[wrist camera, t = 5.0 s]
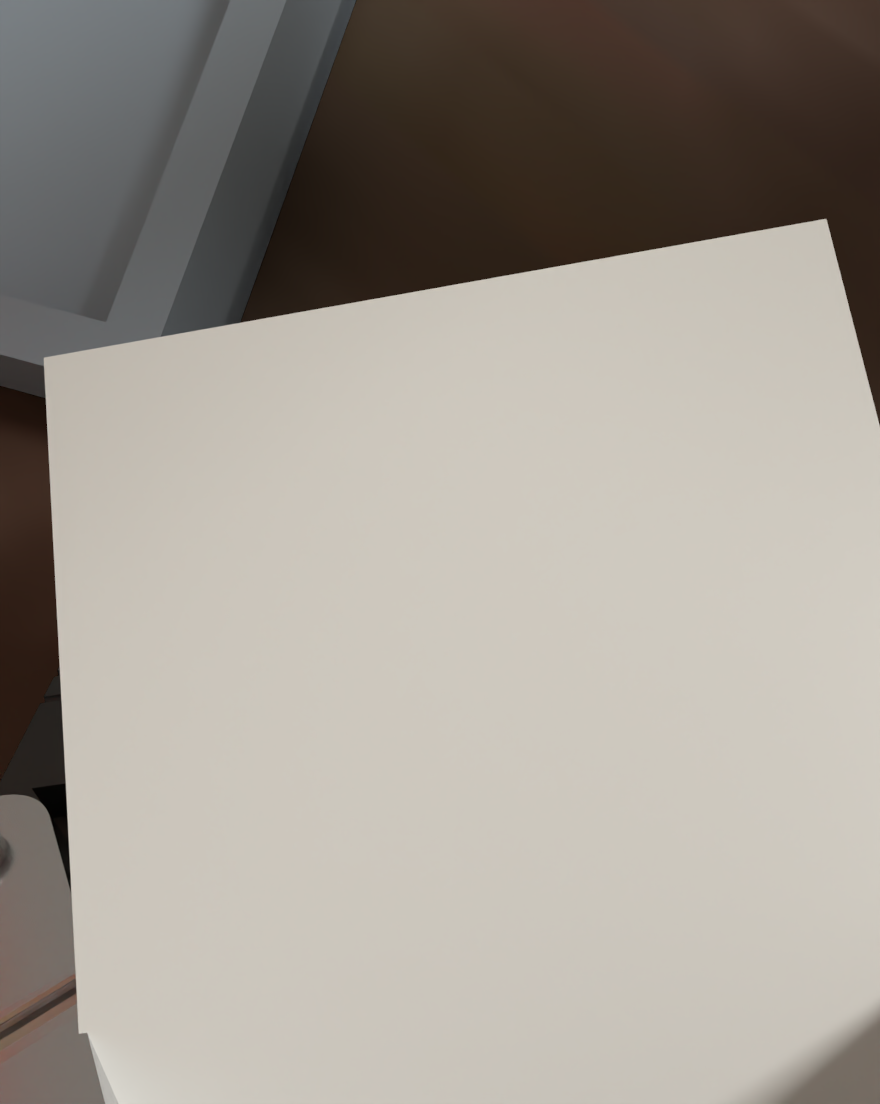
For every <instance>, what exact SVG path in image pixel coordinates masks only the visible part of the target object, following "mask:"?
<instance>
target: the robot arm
mask: <svg viewBox="0 0 880 1104" xmlns="http://www.w3.org/2000/svg"><path fill="white" fill-rule="evenodd" d="M57 671H58V676H56V677H54V678H53V680H52V682H51V684H50V686H49V688H48V689H47V691H46V693H45V695H44V699H45V702H44V703H40V705H39V707H38V709H37V711H36V713H35V715H34V717H33V719H32V721H31V722H30V724H29V726H28V728H27V730H26V732H25V734H24V736H23V738H22V740H21V742H20V744H19V746H18V748H17V750H16V752H15V754H14V756H13V757H12V759H11V761H10V763H9V765H8V767H7V769H6V771H5V773H4V775H3V777H2V779H1V781H0V1104H118V1101H117V1099H116V1097H115V1094H114V1092H113V1090H112V1088H111V1085H110V1083H109V1081H108V1079H107V1076H106V1074H105V1072H104V1070H103V1067H102V1065H101V1063H100V1061H99V1058H98V1056H97V1054H96V1051H95V1049H94V1047H93V1045H92V1042H91V1040H90V1038H89V1036H88V1033H81V1034H79V1029H78V1010H77V990H76V971H75V952H74V933H73V913H72V894H71V875H70V856H69V836H68V817H67V798H66V779H65V759H64V740H63V721H62V702H61V682H60V666H59V668H58V670H57Z"/></svg>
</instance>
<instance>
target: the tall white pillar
mask: <svg viewBox="0 0 880 1104" xmlns="http://www.w3.org/2000/svg"><path fill="white" fill-rule="evenodd" d="M44 375H45V394H46V413H47V432H48V452H49V471H50V490H51V509H52V529H53V548H54V567H55V586H56V606H57V625H58V644H59V663H60V682H61V702H62V721H63V740H64V759H65V779H66V798H67V817H68V836H69V856H70V875H71V894H72V913H73V933H74V952H75V971H76V990H77V1010H78V1029H79V1034H81V1033H88V1036H89V1038H90V1040H91V1042H92V1045H93V1047H94V1049H95V1051H96V1054H97V1056H98V1058H99V1061H100V1063H101V1065H102V1067H103V1070H104V1072H105V1074H106V1076H107V1079H108V1081H109V1083H110V1085H111V1088H112V1090H113V1092H114V1094H115V1097H116V1099H117V1101H118V1104H880V425H879V421H878V417H877V414H876V410H875V406H874V402H873V398H872V394H871V390H870V386H869V383H868V379H867V375H866V371H865V367H864V363H863V359H862V355H861V351H860V348H859V344H858V340H857V336H856V332H855V328H854V324H853V320H852V316H851V313H850V309H849V305H848V301H847V297H846V293H845V289H844V285H843V282H842V278H841V274H840V270H839V266H838V262H837V258H836V254H835V250H834V247H833V243H832V239H831V235H830V231H829V227H828V223H827V219H822V220H817V221H811V222H805V223H800V224H794V225H788V226H783V227H777V228H771V229H766V230H760V231H755V232H749V233H743V234H738V235H732V236H726V237H721V238H715V239H709V240H704V241H698V242H693V243H687V244H681V245H676V246H670V247H664V248H659V249H653V250H648V251H642V252H636V253H631V254H625V255H619V256H614V257H608V258H602V259H597V260H591V261H586V262H580V263H574V264H569V265H563V266H557V267H552V268H546V269H540V270H535V271H529V272H524V273H518V274H512V275H507V276H501V277H495V278H490V279H484V280H479V281H473V282H467V283H462V284H456V285H450V286H445V287H439V288H433V289H428V290H422V291H417V292H411V293H405V294H400V295H394V296H388V297H383V298H377V299H371V300H366V301H360V302H355V303H349V304H343V305H338V306H332V307H326V308H321V309H315V310H309V311H304V312H298V313H293V314H287V315H281V316H276V317H270V318H264V319H259V320H253V321H248V322H242V323H236V324H231V325H225V326H219V327H214V328H208V329H202V330H197V331H191V332H186V333H180V334H174V335H169V336H163V337H157V338H152V339H146V340H141V341H135V342H129V343H124V344H118V345H112V346H107V347H101V348H95V349H90V350H84V351H79V352H73V353H67V354H62V355H56V356H50V357H45V358H44Z"/></svg>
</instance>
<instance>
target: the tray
mask: <svg viewBox="0 0 880 1104" xmlns="http://www.w3.org/2000/svg"><path fill="white" fill-rule="evenodd" d="M355 2H356V0H0V386H3V387H7V388H10V389H14V390H18V391H21V392H25V393H28V394H32V395H36V396H39V397H43V398H46V394H45V375H44V358H45V357H50V356H56V355H62V354H67V353H73V352H79V351H84V350H90V349H95V348H101V347H107V346H112V345H118V344H124V343H129V342H135V341H141V340H146V339H152V338H157V337H163V336H169V335H174V334H180V333H186V332H191V331H197V330H202V329H208V328H214V327H219V326H225V325H231V324H236V323H240V322H241V319H242V316H243V313H244V311H245V308H246V305H247V302H248V300H249V297H250V294H251V291H252V288H253V286H254V283H255V280H256V277H257V274H258V272H259V269H260V266H261V263H262V261H263V258H264V255H265V252H266V249H267V247H268V244H269V241H270V238H271V236H272V233H273V230H274V227H275V224H276V222H277V219H278V216H279V213H280V211H281V208H282V205H283V202H284V199H285V197H286V194H287V191H288V188H289V186H290V183H291V180H292V177H293V174H294V172H295V169H296V166H297V163H298V160H299V158H300V155H301V152H302V149H303V147H304V144H305V141H306V138H307V135H308V133H309V130H310V127H311V124H312V122H313V119H314V116H315V113H316V110H317V108H318V105H319V102H320V99H321V97H322V94H323V91H324V88H325V85H326V83H327V80H328V77H329V74H330V71H331V69H332V66H333V63H334V60H335V58H336V55H337V52H338V49H339V46H340V44H341V41H342V38H343V35H344V33H345V30H346V27H347V24H348V21H349V19H350V16H351V13H352V10H353V8H354V5H355Z"/></svg>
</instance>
